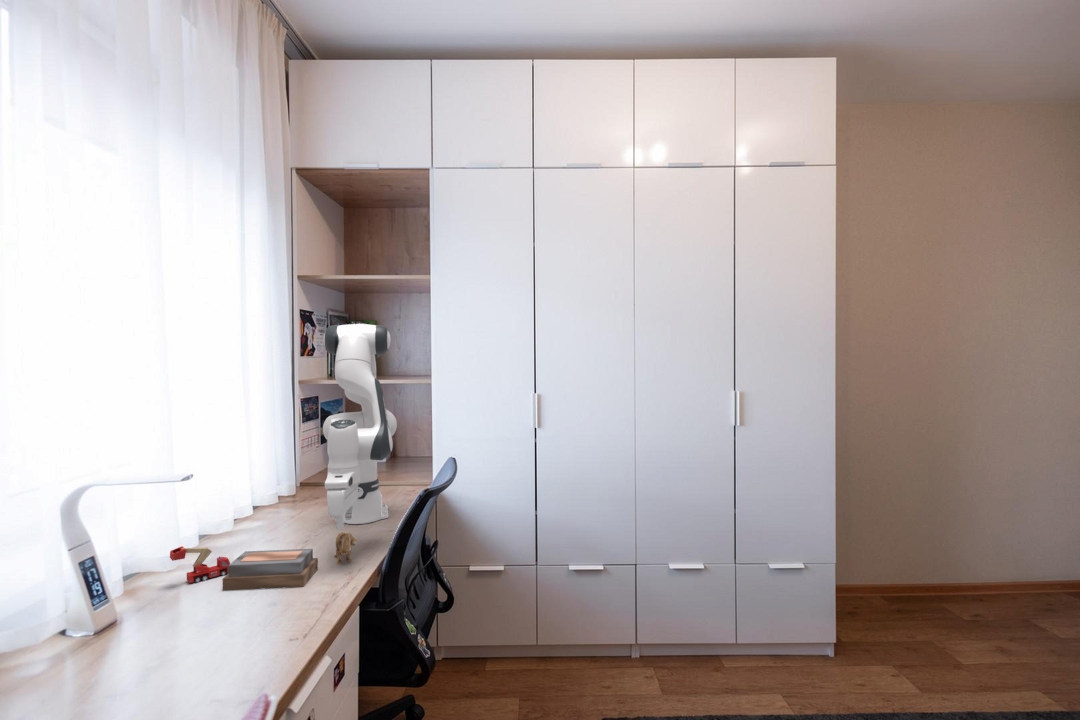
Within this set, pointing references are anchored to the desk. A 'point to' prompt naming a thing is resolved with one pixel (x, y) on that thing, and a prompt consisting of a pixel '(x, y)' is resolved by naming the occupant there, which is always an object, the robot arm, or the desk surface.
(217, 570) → the toy fire truck
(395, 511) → the desk surface
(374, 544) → the desk surface
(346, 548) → the lion figurine
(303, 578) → the plinth
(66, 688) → the desk surface
